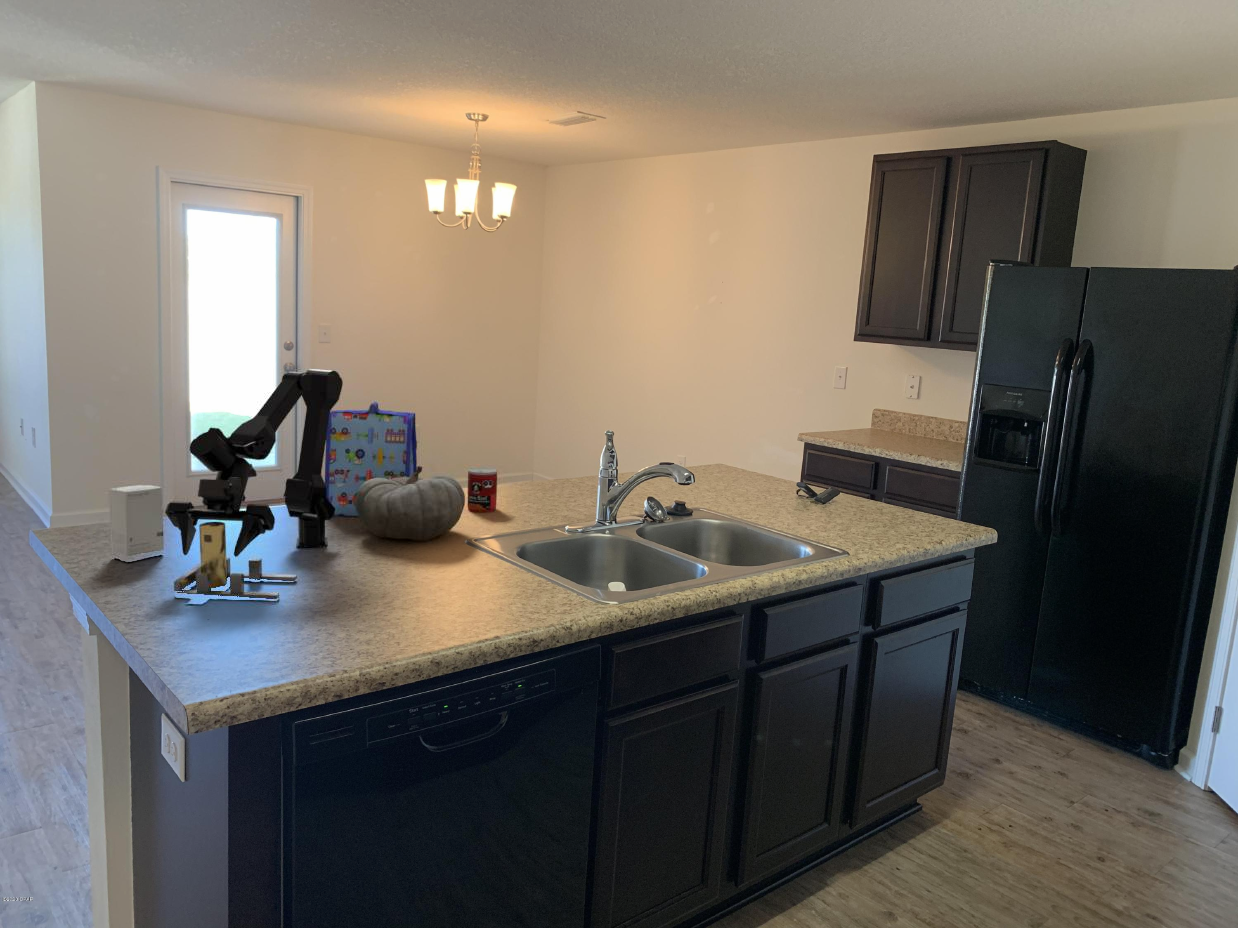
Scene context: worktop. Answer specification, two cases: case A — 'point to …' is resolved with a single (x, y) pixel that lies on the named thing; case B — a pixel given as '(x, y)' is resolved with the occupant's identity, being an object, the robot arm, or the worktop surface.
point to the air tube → (213, 552)
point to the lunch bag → (366, 452)
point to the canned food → (482, 489)
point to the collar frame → (235, 581)
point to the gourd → (410, 506)
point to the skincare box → (136, 519)
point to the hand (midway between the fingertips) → (210, 554)
